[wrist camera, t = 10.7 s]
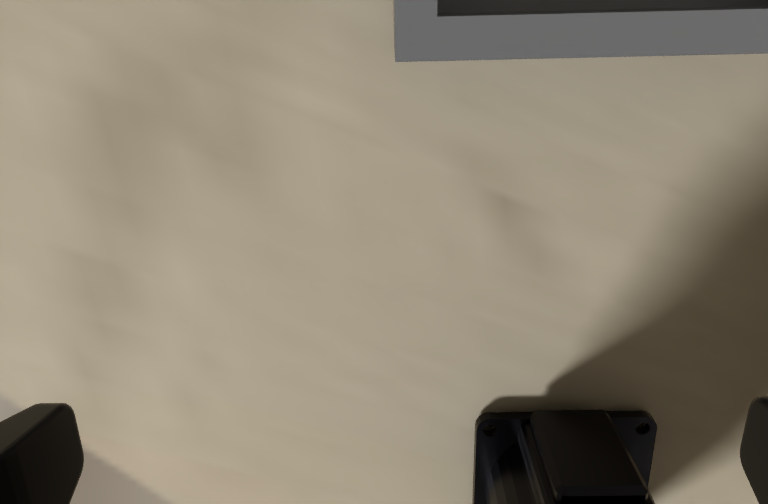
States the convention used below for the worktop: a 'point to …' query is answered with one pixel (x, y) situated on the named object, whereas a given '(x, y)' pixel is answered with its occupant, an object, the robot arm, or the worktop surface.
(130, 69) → the worktop surface
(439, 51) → the bin
